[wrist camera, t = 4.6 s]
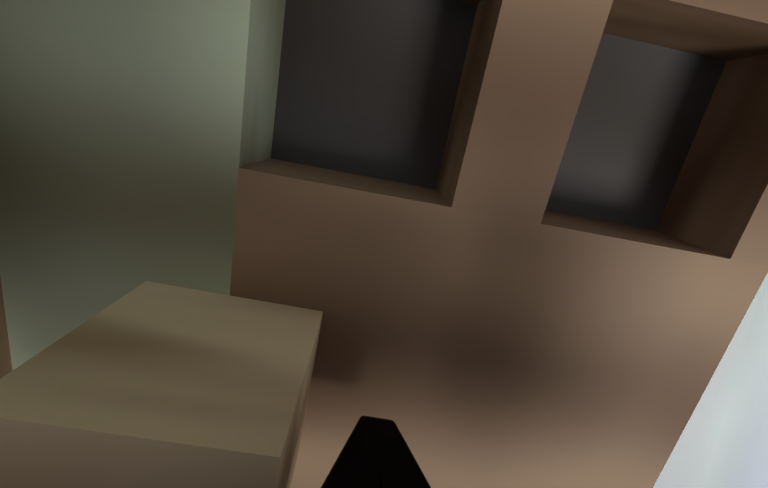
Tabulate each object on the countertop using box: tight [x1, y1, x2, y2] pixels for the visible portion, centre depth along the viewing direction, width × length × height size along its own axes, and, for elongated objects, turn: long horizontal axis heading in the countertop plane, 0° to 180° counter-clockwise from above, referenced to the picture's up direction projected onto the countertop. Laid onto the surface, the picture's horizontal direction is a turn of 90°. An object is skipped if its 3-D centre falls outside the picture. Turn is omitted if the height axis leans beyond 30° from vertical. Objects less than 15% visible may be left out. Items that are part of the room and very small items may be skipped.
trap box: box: [0, 0, 768, 488], centre depth 8 cm, size 15×18×6 cm
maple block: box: [0, 281, 323, 488], centre depth 7 cm, size 4×4×4 cm
